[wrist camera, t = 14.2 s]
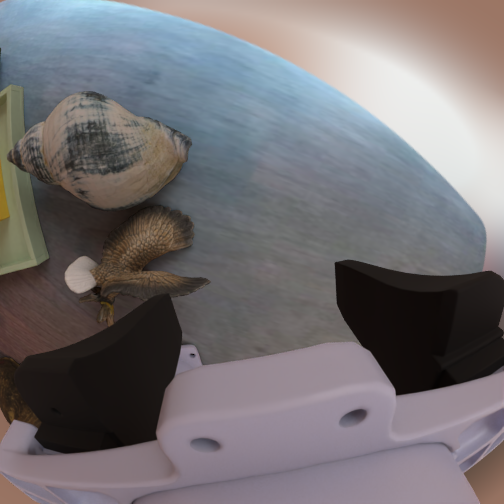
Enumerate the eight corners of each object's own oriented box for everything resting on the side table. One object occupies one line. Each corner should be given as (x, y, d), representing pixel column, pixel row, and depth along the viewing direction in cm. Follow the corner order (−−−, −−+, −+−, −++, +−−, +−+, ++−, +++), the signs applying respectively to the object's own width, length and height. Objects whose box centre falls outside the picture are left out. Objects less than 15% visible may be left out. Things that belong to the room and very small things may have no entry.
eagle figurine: (150, 339, 21) (232, 288, 19) (80, 355, 15) (160, 295, 12) (119, 260, 23) (187, 198, 21) (52, 256, 17) (116, 172, 14)
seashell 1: (-3, 382, 24) (-26, 403, 17) (0, 337, 24) (-29, 356, 17) (86, 443, 27) (73, 474, 20) (98, 405, 27) (82, 440, 20)
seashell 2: (158, 213, 21) (54, 140, 18) (204, 137, 17) (78, 62, 14) (117, 265, 16) (1, 173, 13) (160, 174, 12) (13, 78, 9)
